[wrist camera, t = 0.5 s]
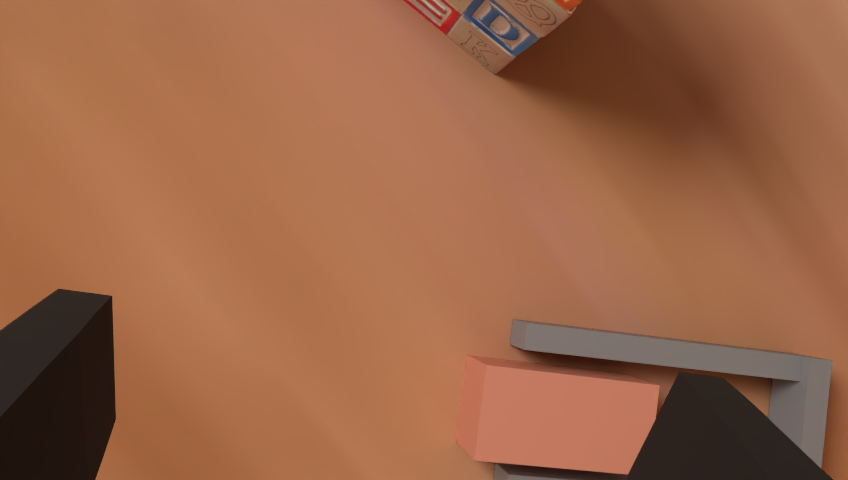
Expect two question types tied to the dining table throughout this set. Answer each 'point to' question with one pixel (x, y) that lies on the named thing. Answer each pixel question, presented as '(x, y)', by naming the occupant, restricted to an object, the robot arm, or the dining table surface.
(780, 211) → the dining table surface
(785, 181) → the dining table surface
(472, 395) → the brick-red plug
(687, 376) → the robot arm
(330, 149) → the dining table surface
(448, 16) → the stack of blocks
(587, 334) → the cable organizer
